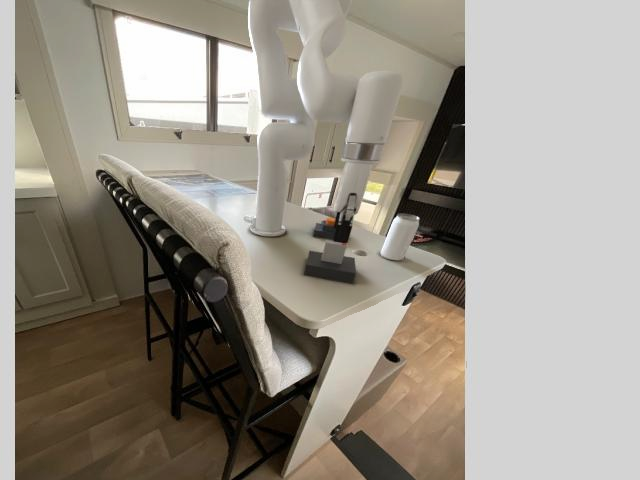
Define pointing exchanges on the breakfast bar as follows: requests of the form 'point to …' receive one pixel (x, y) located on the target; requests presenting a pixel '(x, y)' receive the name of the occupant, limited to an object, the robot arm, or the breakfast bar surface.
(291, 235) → the breakfast bar surface
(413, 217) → the can
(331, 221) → the button
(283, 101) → the robot arm
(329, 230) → the button block
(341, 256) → the timer knob
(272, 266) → the breakfast bar surface
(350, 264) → the panel
